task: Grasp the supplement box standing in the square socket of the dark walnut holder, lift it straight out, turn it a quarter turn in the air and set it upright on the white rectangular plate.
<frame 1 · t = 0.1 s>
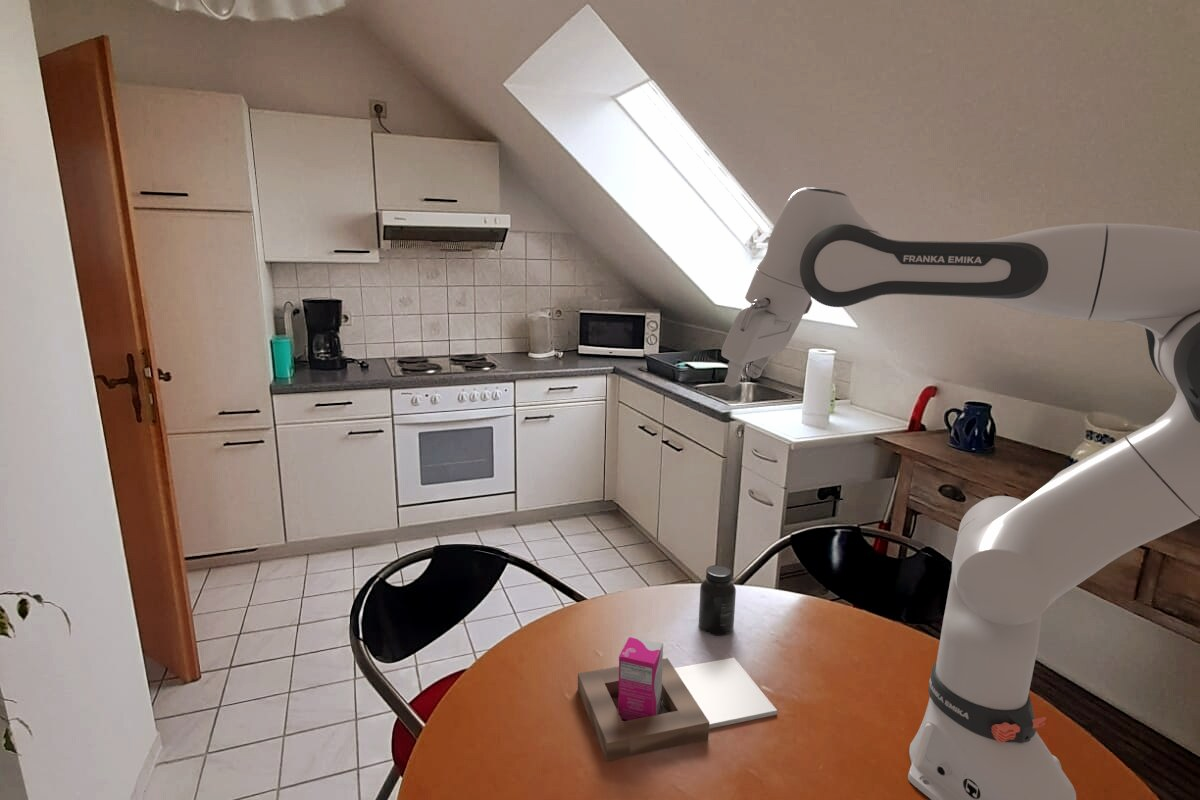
hand: (741, 380, 99), 52 cm above the table, tool tilted 20°, fingers open, 8 cm apart
walnut holder: (639, 713, 100), on the table
supplement box: (639, 714, 100), resting in walnut holder
supplement bottle: (715, 627, 125), on the table
white rectangular plate: (721, 692, 106), on the table
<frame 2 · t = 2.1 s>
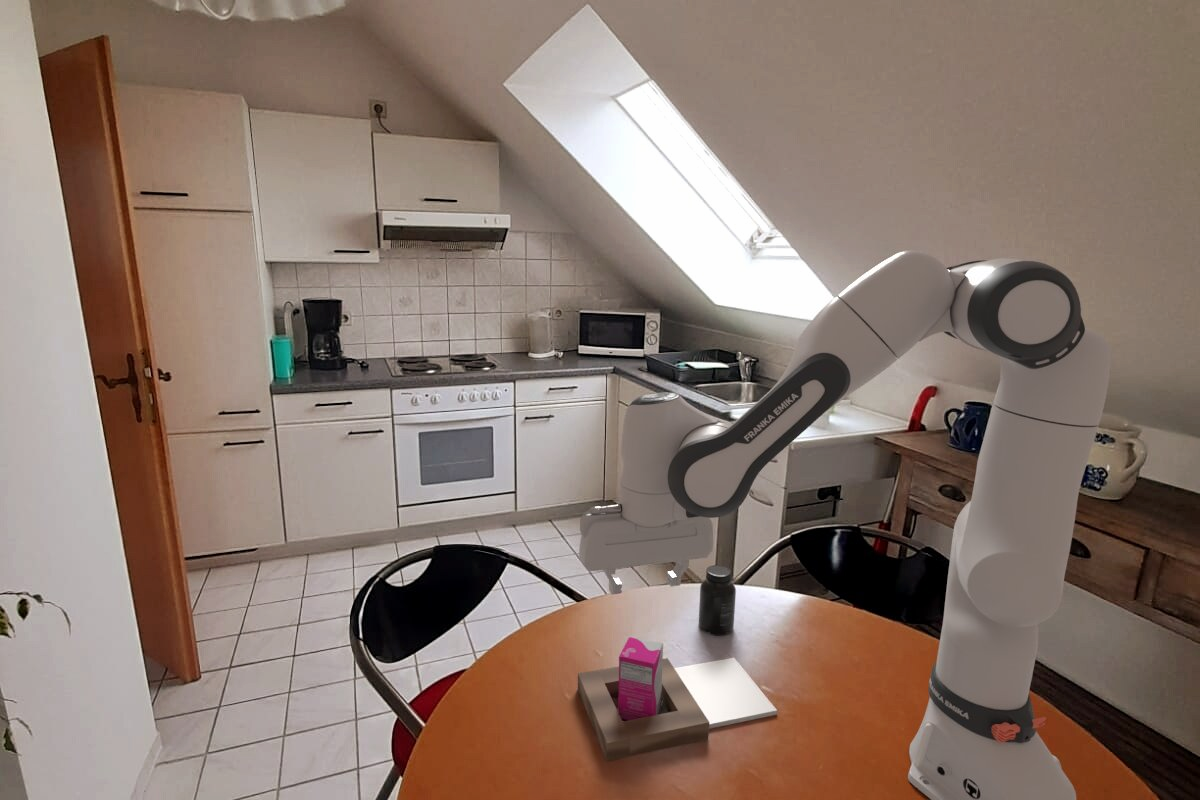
hand: (644, 588, 96), 22 cm above the table, tool pointing down, fingers open, 8 cm apart
nothing on the table moved.
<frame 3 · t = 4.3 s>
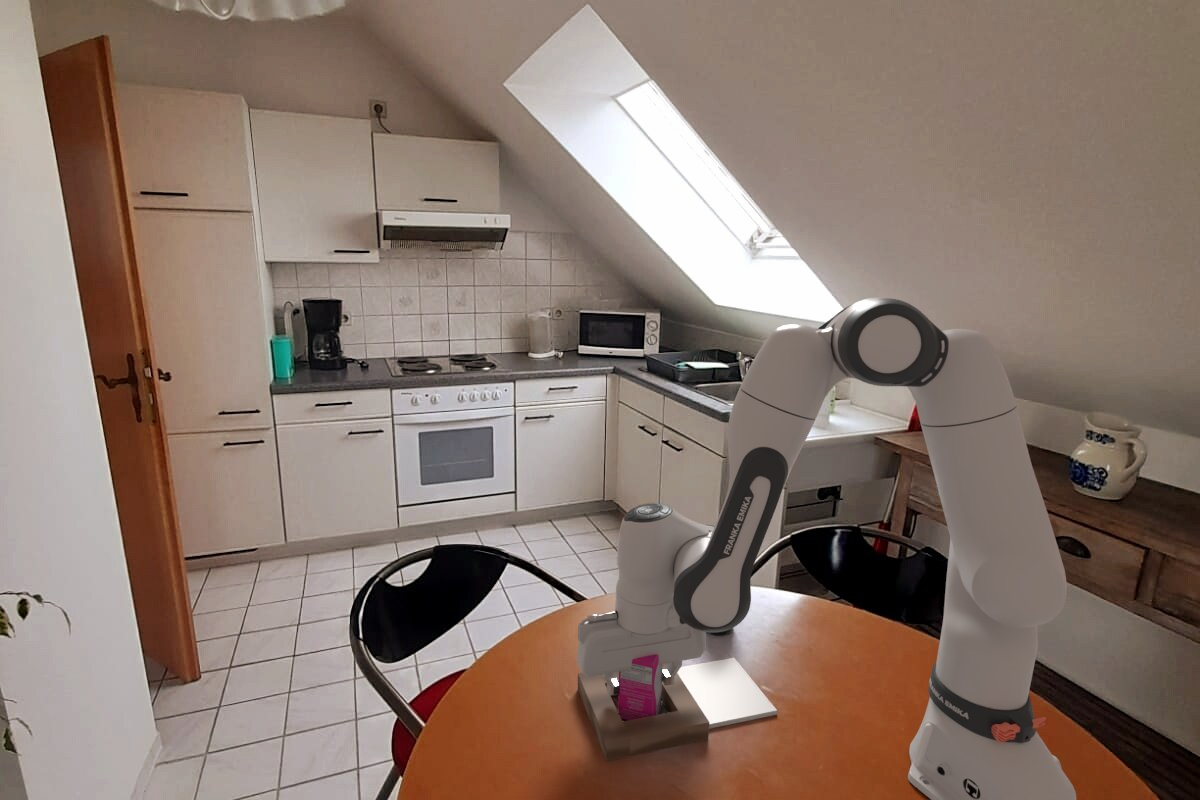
hand: (640, 687, 99), 5 cm above the table, tool pointing down, fingers closed on supplement box, 8 cm apart
supplement box: (639, 714, 100), resting in walnut holder, touching gripper
everything else where it was.
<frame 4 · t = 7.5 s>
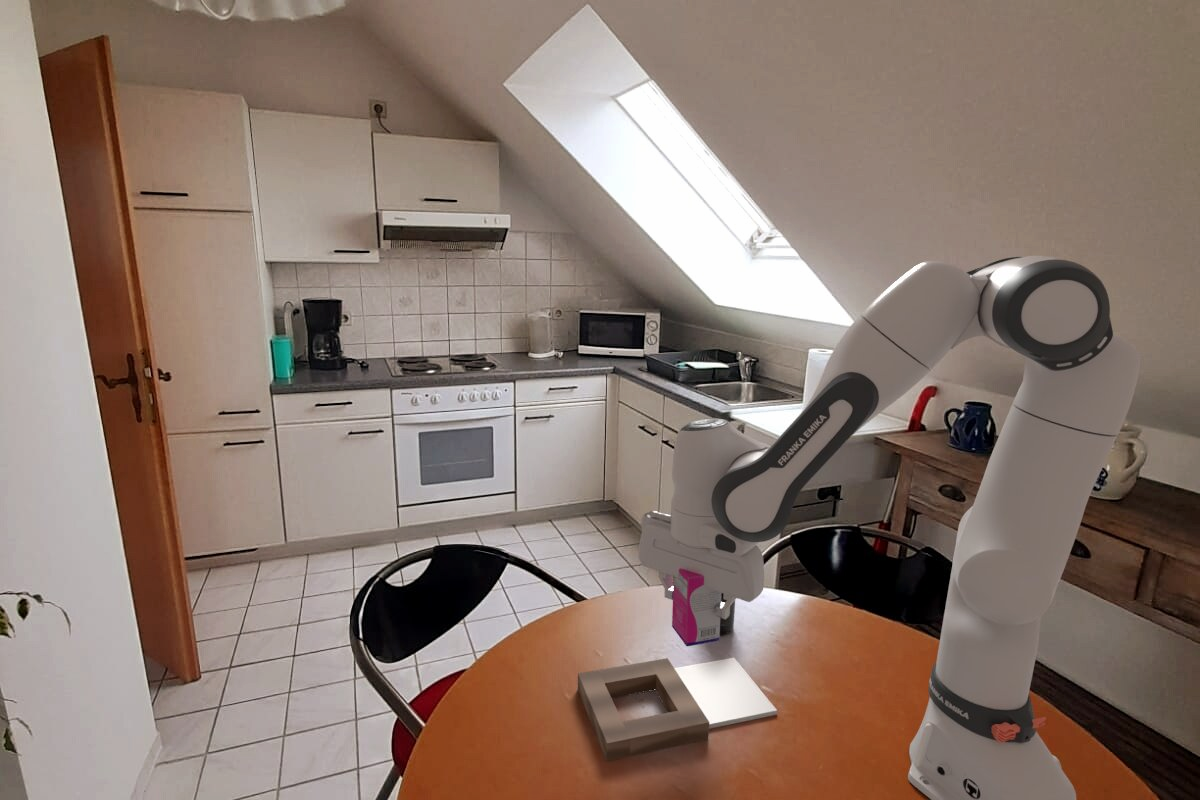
hand: (696, 606, 99), 17 cm above the table, tool pointing down, fingers closed on supplement box, 8 cm apart
supplement box: (694, 634, 100), point 12 cm above the table, touching gripper
everything else where it was.
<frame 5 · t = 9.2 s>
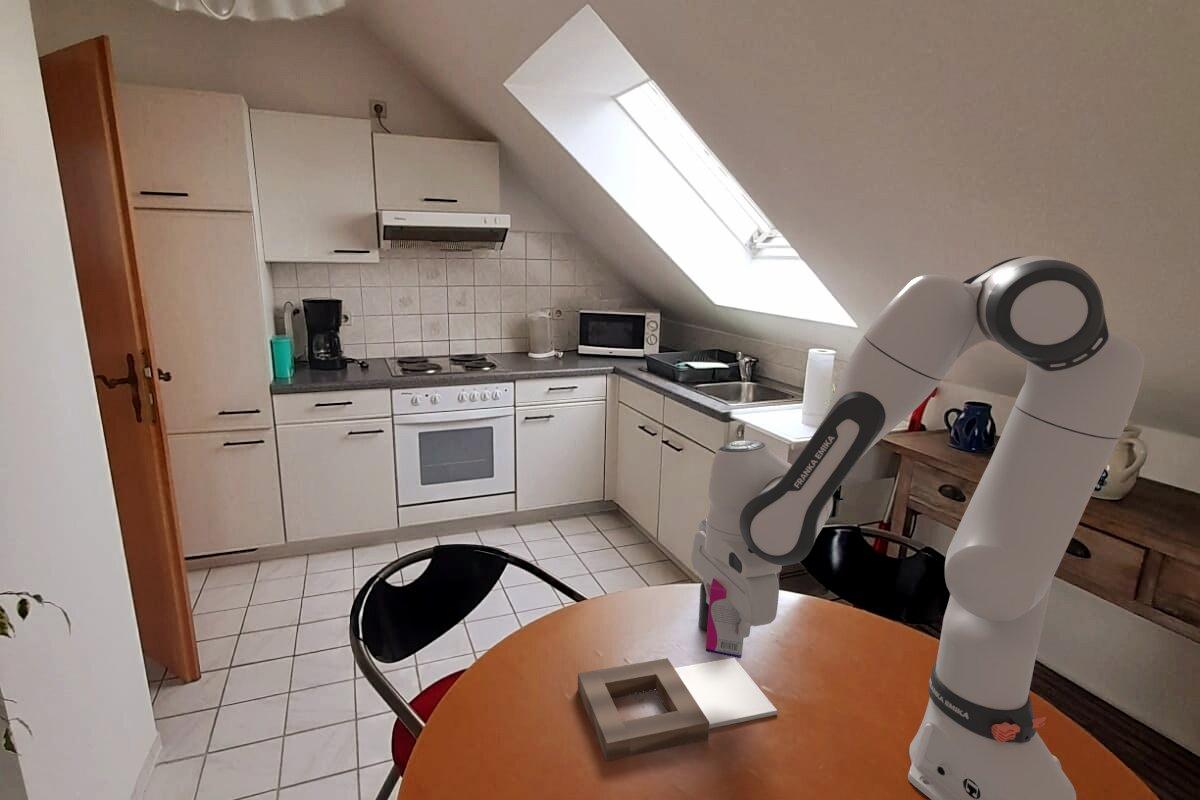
hand: (726, 619, 103), 14 cm above the table, tool pointing down, fingers closed on supplement box, 8 cm apart
supplement box: (724, 645, 104), point 9 cm above the table, touching gripper
everything else where it was.
when the fingers open (7 cm above the table, at t = 10.9 s): supplement box drops 1 cm, resting on white rectangular plate.
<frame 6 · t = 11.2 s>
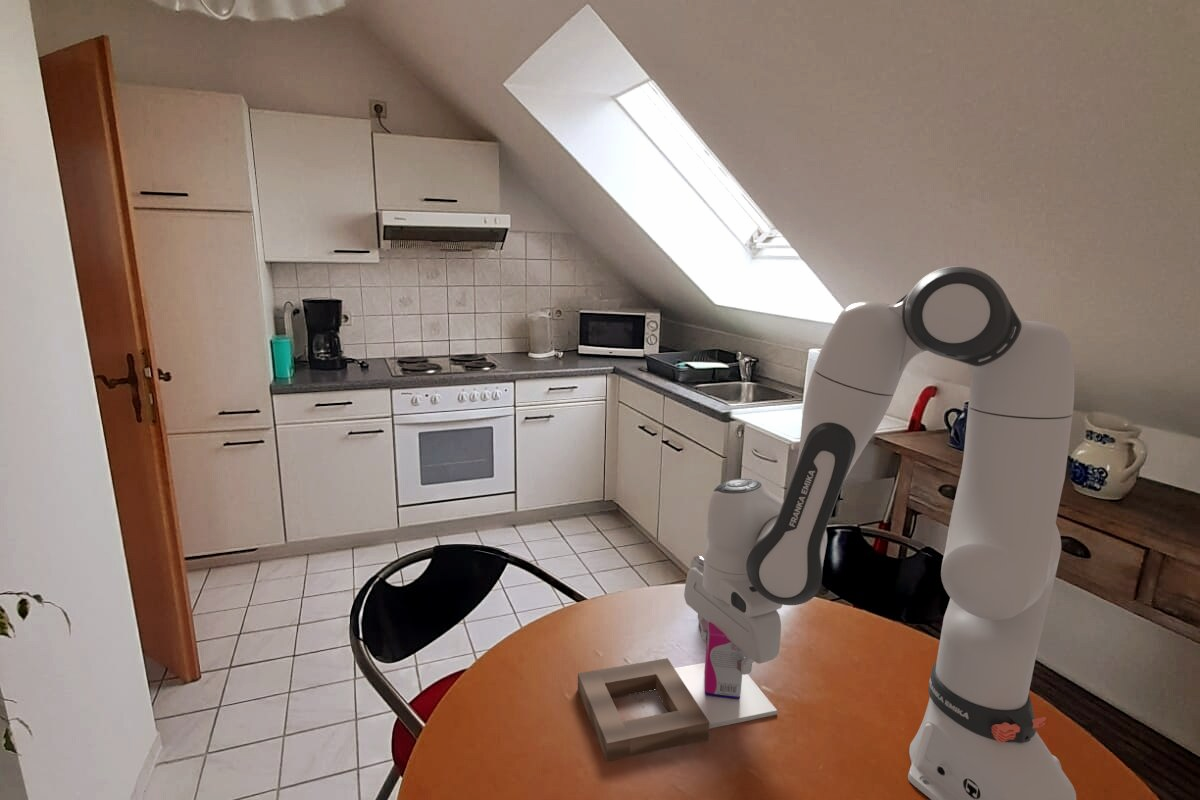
hand: (725, 654, 104), 7 cm above the table, tool pointing down, fingers open, 8 cm apart
supplement box: (721, 686, 106), point 1 cm above the table, touching white rectangular plate, gripper
everything else where it was.
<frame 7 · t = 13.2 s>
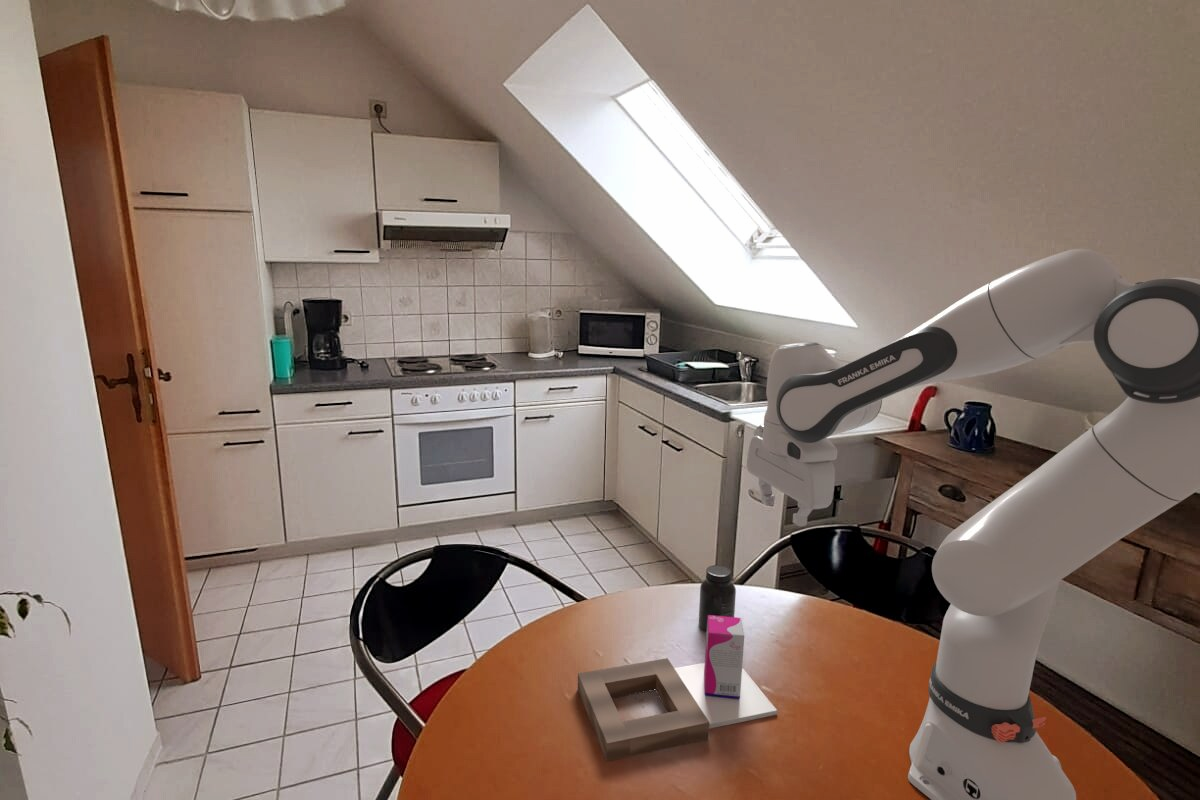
hand: (782, 514, 110), 28 cm above the table, tool pointing down, fingers open, 8 cm apart
supplement box: (721, 687, 106), point 1 cm above the table, touching white rectangular plate
everything else where it was.
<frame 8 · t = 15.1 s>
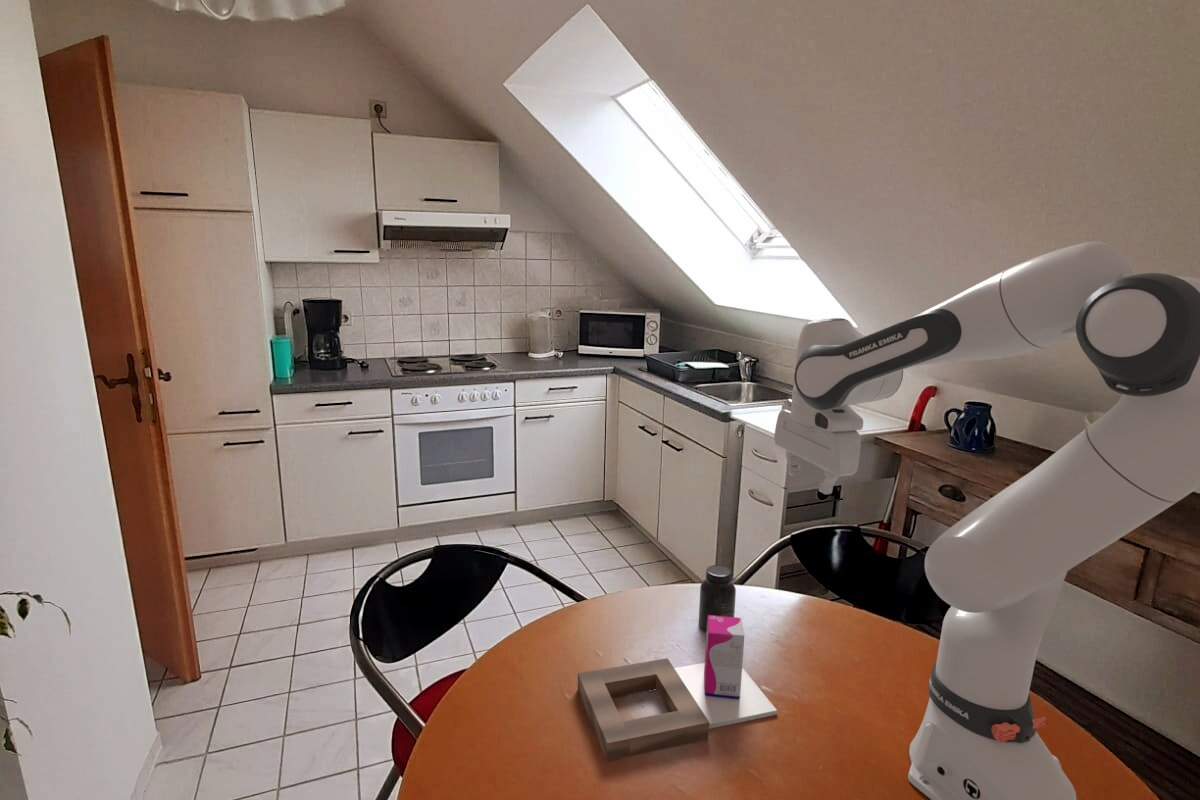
hand: (809, 483, 115), 31 cm above the table, tool pointing down, fingers open, 8 cm apart
nothing on the table moved.
at the end: supplement box inside the target area on the white rectangular plate (0.5 cm from its centre), point 0.6 cm above the white rectangular plate's base; supplement box tilted 0°; the gripper is holding nothing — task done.
